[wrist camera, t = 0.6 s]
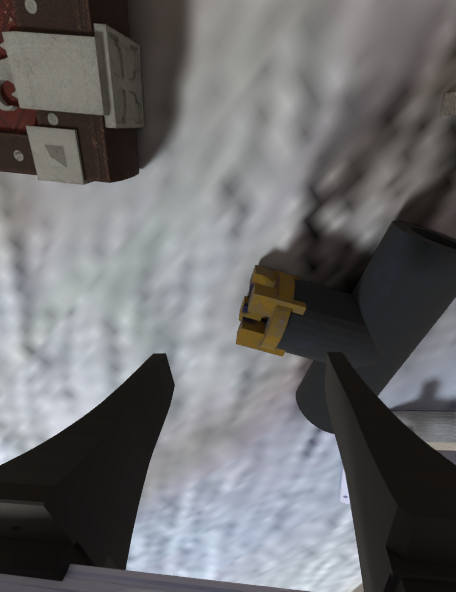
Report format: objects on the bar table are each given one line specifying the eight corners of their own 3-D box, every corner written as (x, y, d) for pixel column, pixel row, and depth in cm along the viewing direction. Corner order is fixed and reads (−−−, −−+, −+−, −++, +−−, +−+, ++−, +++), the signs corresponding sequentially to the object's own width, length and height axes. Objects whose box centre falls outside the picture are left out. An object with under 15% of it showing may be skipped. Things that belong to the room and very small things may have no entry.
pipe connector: (215, 404, 22) (288, 204, 14) (223, 355, 26) (282, 184, 19) (362, 443, 22) (511, 270, 15) (345, 388, 27) (452, 235, 19)
